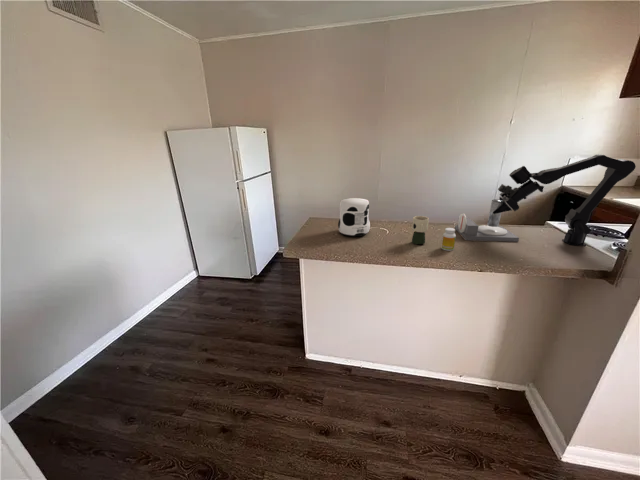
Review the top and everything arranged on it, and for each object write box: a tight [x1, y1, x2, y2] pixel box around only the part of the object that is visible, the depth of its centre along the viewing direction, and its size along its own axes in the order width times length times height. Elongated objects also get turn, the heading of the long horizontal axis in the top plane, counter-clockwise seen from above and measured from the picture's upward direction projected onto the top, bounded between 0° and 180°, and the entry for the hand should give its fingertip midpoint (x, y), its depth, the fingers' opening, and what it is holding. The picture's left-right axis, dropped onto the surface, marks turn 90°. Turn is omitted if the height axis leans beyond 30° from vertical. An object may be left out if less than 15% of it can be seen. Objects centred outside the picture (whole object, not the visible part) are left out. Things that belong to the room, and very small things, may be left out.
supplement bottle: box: [440, 227, 457, 252], centre depth 124 cm, size 5×5×10 cm
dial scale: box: [454, 213, 520, 242], centre depth 140 cm, size 24×18×11 cm
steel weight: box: [487, 198, 503, 227], centre depth 137 cm, size 5×5×13 cm
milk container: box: [337, 197, 371, 237], centre depth 146 cm, size 17×17×18 cm
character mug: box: [411, 215, 430, 245], centre depth 131 cm, size 11×7×13 cm, turn 169°
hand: (492, 211), depth 137 cm, fingers closed on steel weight, 5 cm apart
